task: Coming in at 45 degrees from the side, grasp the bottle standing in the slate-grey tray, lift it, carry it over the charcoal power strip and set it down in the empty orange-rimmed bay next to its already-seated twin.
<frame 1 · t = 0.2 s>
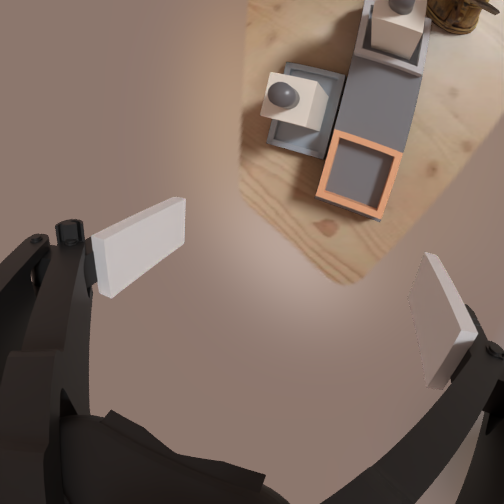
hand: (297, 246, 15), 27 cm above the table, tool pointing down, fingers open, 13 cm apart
pdu strip: (378, 105, 33), on the table
tray: (307, 109, 37), on the table
twin plug: (393, 37, 26), resting on pdu strip
wooden mug: (445, 19, 24), on the table
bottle: (306, 109, 36), point 1 cm above the table, touching tray
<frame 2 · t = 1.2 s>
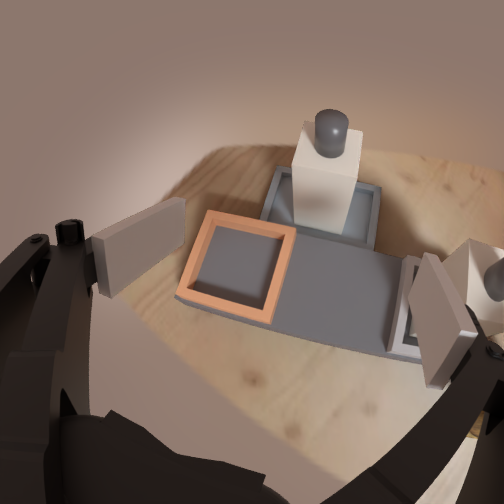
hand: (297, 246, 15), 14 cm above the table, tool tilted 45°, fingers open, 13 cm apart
pdu strip: (337, 299, 28), on the table
tray: (322, 211, 32), on the table
twin plug: (436, 313, 23), resting on pdu strip
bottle: (322, 209, 31), point 1 cm above the table, touching tray
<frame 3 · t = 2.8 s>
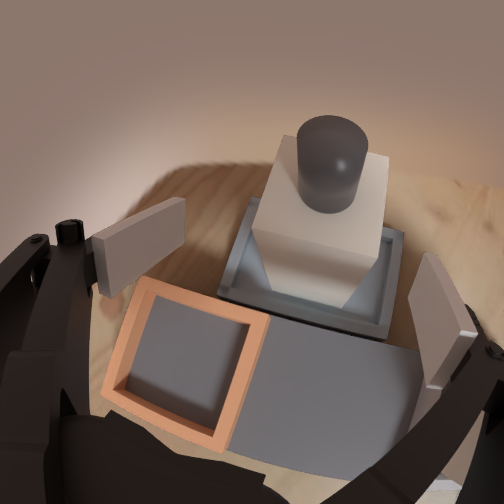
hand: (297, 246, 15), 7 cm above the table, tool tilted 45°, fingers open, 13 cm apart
pdu strip: (328, 402, 18), on the table
tray: (315, 269, 22), on the table
twin plug: (463, 426, 13), resting on pdu strip
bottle: (315, 266, 21), point 1 cm above the table, touching tray
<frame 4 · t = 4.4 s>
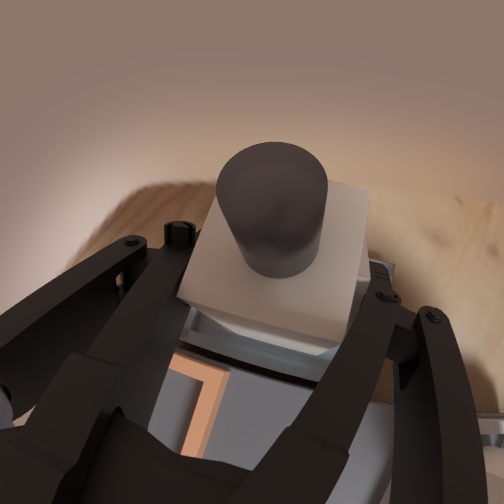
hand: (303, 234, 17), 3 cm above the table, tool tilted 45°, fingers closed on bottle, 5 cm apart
pdu strip: (300, 454, 15), on the table
tray: (288, 308, 19), on the table
twin plug: (449, 483, 10), resting on pdu strip
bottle: (287, 306, 18), point 1 cm above the table, touching gripper, tray
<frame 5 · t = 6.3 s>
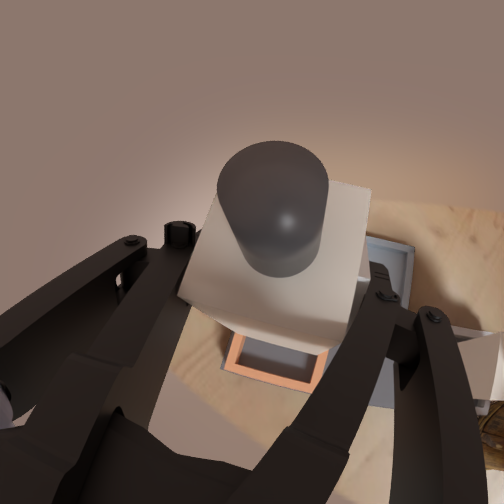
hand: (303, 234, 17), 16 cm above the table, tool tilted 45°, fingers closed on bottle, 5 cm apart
pdu strip: (372, 360, 28), on the table
tray: (358, 273, 32), on the table
twin plug: (459, 372, 23), resting on pdu strip
wooden mug: (481, 433, 22), on the table
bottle: (288, 306, 18), point 13 cm above the table, touching gripper
when the fingers open (7 cm above the table, at t = 8.2 s): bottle drops 1 cm, resting on pdu strip.
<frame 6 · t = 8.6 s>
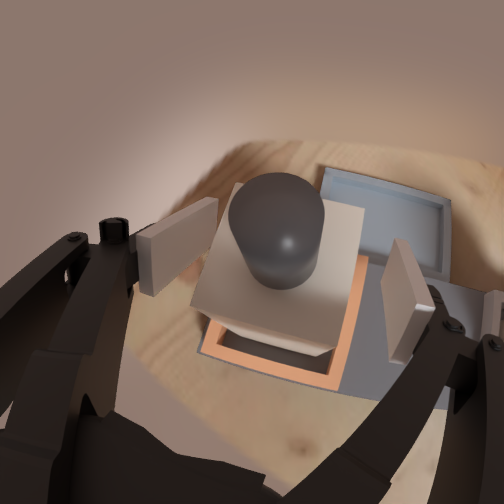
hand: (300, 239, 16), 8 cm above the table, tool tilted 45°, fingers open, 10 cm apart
pdu strip: (406, 344, 20), on the table
tray: (384, 229, 24), on the table
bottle: (288, 310, 19), point 3 cm above the table, touching pdu strip
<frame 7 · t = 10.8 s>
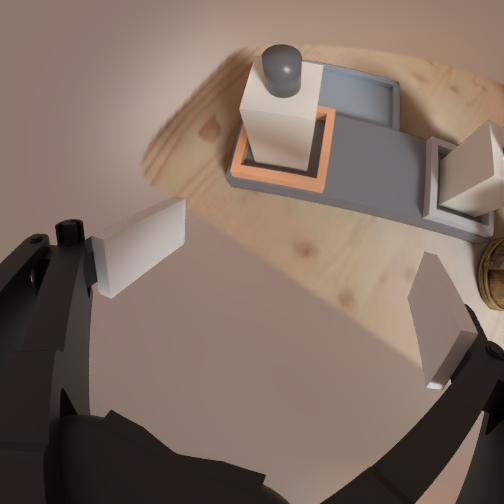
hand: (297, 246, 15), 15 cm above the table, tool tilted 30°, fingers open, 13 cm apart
pdu strip: (371, 174, 30), on the table
tray: (348, 100, 31), on the table
twin plug: (458, 188, 25), resting on pdu strip
wooden mug: (489, 269, 27), on the table
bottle: (285, 144, 28), point 3 cm above the table, touching pdu strip
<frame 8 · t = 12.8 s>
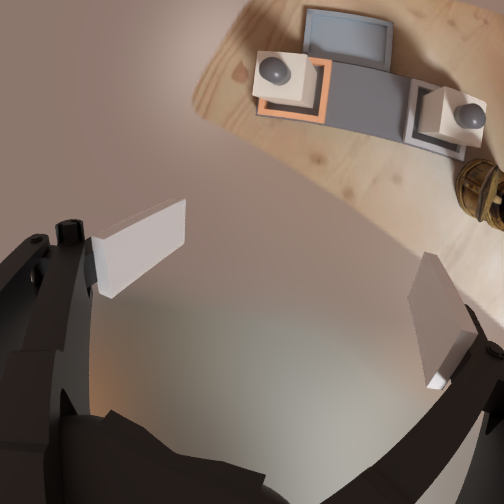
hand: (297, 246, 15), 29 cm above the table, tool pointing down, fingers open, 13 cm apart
pdu strip: (367, 102, 35), on the table
tray: (348, 40, 32), on the table
twin plug: (437, 119, 30), resting on pdu strip
wooden mug: (469, 182, 34), on the table
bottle: (296, 88, 34), point 3 cm above the table, touching pdu strip
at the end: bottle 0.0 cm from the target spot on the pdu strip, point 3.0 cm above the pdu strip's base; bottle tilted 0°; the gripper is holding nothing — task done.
